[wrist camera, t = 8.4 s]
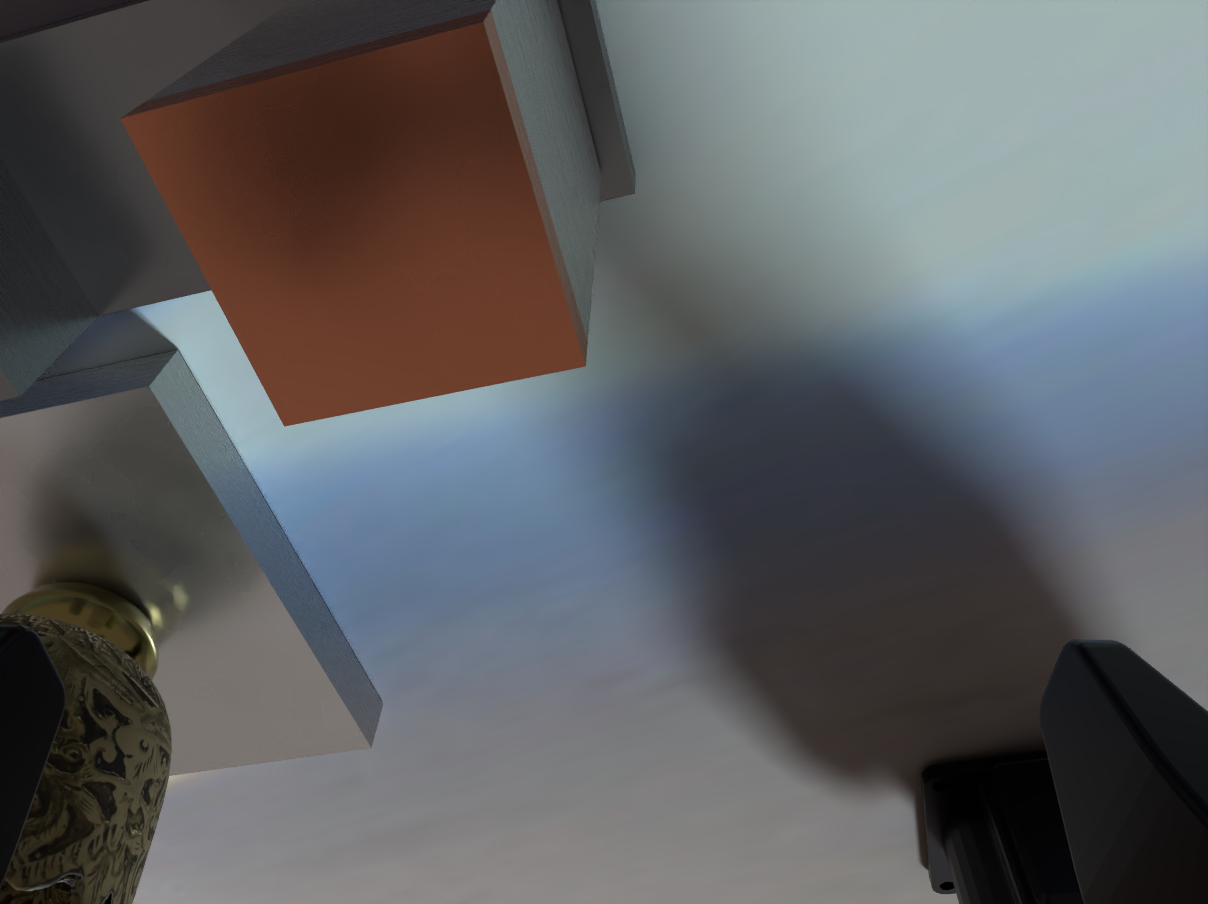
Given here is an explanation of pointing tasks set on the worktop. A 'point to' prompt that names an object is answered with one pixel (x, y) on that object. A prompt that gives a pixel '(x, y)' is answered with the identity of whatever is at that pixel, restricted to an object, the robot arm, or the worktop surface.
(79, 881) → the cup
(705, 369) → the worktop surface
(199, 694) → the flat plate
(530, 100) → the small box
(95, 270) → the press rail
